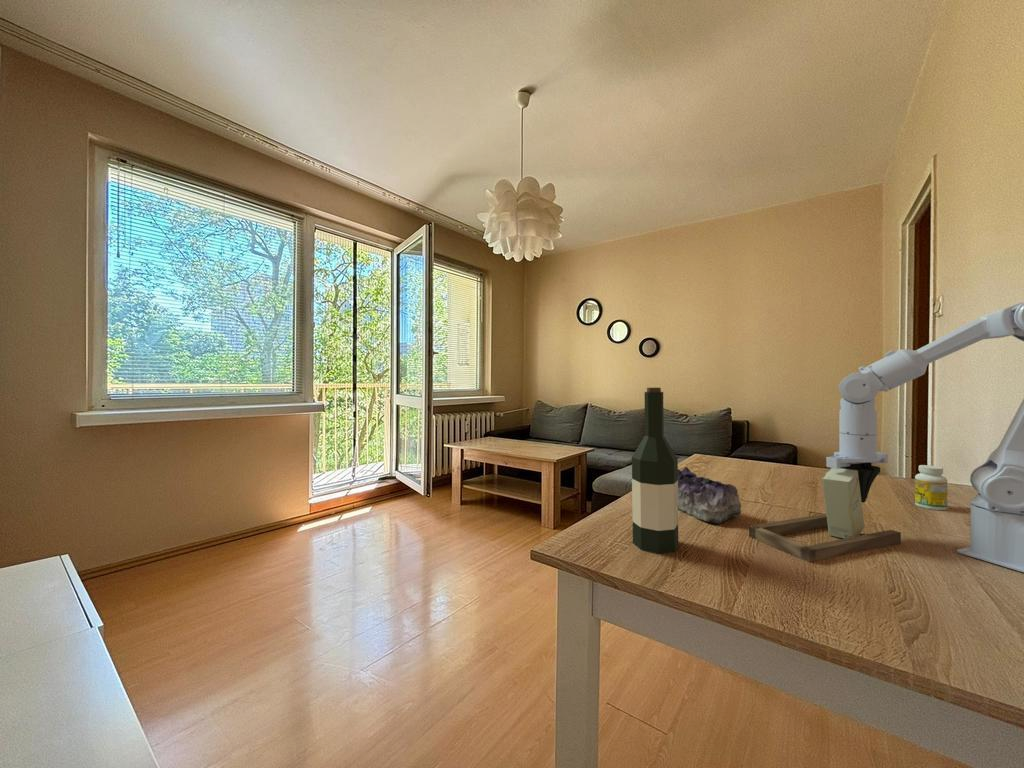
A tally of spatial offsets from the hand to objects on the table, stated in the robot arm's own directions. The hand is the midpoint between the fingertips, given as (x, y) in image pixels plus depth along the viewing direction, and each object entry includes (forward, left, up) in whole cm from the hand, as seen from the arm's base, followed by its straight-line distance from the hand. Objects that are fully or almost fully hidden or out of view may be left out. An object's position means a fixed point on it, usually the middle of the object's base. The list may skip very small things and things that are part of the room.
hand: (857, 501), depth 81 cm
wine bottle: (+9, +41, -7) cm, 43 cm away
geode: (+22, +20, -7) cm, 30 cm away
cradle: (0, +10, -6) cm, 12 cm away
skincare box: (0, +3, -6) cm, 7 cm away
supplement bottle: (+5, -33, -7) cm, 34 cm away
